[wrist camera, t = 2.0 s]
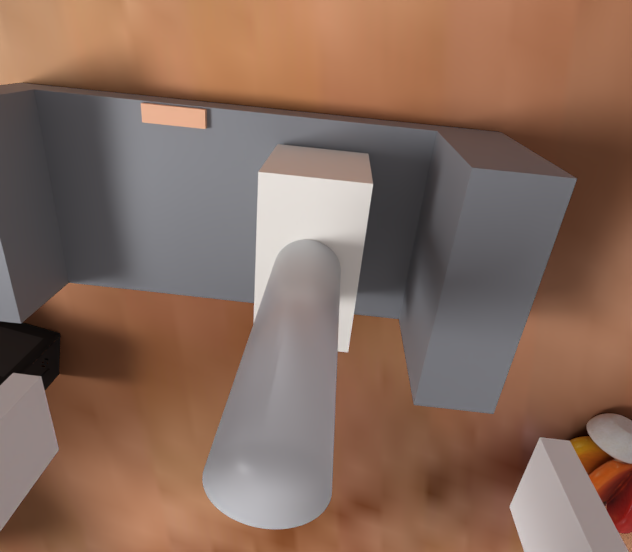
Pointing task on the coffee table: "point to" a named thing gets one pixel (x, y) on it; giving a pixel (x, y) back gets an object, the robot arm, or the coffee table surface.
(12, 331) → the digital camera
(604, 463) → the rainbow disc rattle
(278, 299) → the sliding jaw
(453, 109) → the coffee table surface
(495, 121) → the coffee table surface
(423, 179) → the bench clamp
